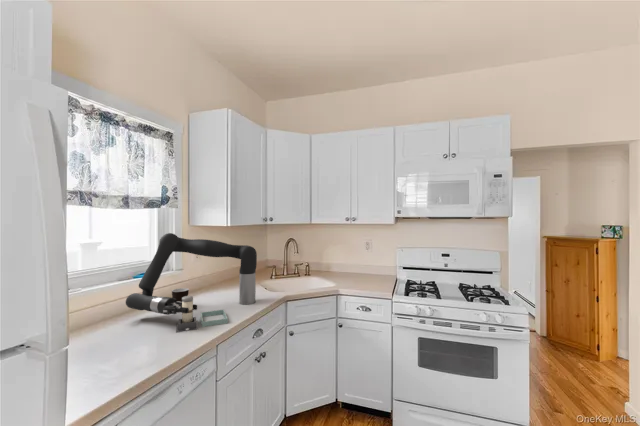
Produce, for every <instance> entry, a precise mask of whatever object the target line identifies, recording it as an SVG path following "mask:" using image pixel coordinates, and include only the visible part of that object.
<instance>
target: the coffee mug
mask: <svg viewBox="0 0 640 426" xmlns="http://www.w3.org/2000/svg"><path fill="white" fill-rule="evenodd" d="M189 291H190V288H187V287H178V288H174V289H172V290H171V295H172V297H171V298H175V299H176V301H180V302H182V297H184V296H189Z"/></svg>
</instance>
